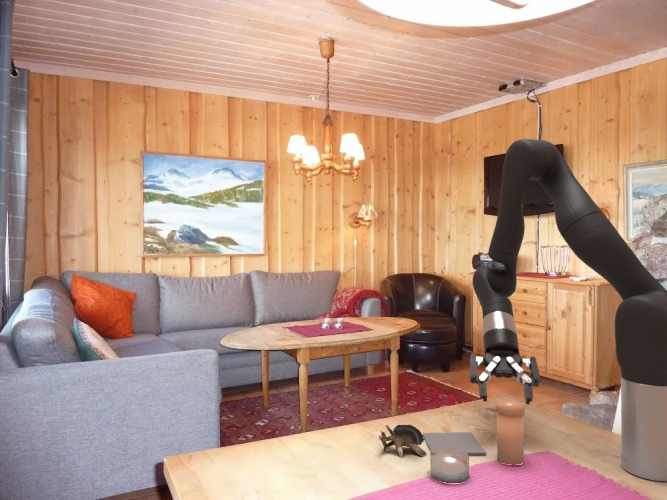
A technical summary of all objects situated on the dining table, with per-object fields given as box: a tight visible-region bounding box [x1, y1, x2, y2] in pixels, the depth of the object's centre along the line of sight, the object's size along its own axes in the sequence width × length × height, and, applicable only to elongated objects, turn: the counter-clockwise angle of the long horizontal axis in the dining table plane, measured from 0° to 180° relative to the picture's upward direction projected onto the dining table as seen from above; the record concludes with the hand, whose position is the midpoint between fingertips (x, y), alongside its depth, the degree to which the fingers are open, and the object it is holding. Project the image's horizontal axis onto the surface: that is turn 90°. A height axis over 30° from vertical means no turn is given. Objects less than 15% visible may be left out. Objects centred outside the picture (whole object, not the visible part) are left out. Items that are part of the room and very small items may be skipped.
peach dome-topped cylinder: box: [494, 396, 526, 465], centre depth 99 cm, size 6×6×12 cm
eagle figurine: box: [378, 424, 428, 459], centre depth 103 cm, size 8×7×9 cm
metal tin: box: [429, 447, 470, 483], centre depth 93 cm, size 7×7×4 cm
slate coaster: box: [422, 431, 487, 457], centre depth 107 cm, size 11×11×1 cm
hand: (506, 401), depth 104 cm, fingers open, 8 cm apart
